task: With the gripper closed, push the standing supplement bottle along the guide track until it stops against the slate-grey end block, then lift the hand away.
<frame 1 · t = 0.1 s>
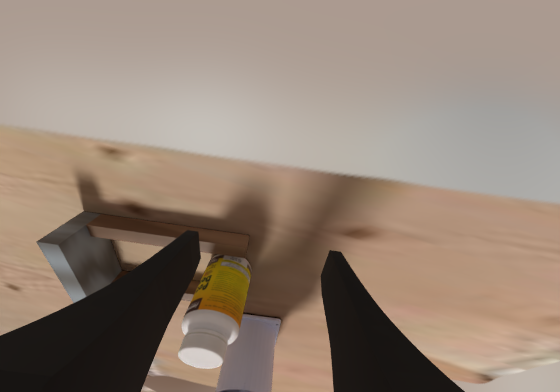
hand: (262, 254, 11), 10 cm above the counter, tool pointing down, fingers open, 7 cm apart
guide track: (180, 258, 27), on the counter
supplement bottle: (231, 264, 27), on the counter
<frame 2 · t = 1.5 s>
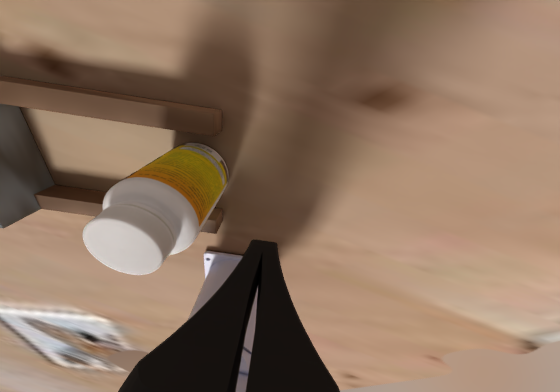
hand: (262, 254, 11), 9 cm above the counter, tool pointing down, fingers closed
guide track: (130, 160, 19), on the counter
supplement bottle: (201, 169, 19), on the counter
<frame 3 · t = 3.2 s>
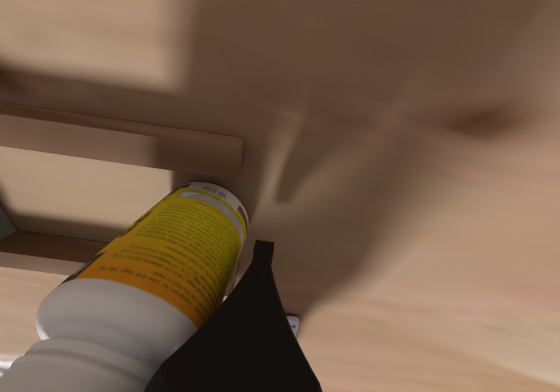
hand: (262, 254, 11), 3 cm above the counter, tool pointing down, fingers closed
guide track: (114, 202, 14), on the counter
supplement bottle: (211, 213, 14), on the counter, touching gripper
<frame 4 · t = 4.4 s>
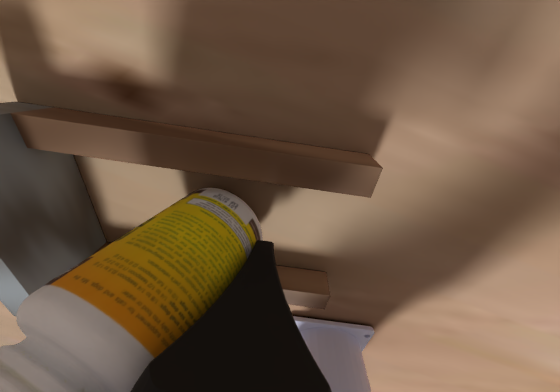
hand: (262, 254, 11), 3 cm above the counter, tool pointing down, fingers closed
guide track: (216, 215, 14), on the counter
supplement bottle: (227, 221, 13), point 1 cm above the counter, touching gripper
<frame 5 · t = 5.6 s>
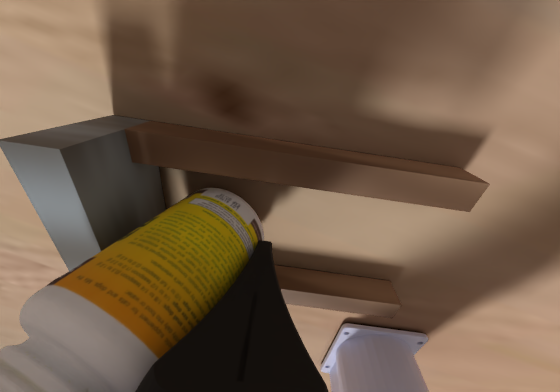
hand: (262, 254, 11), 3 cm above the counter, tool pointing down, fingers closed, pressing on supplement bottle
guide track: (291, 225, 14), on the counter
supplement bottle: (229, 221, 13), point 1 cm above the counter, touching gripper
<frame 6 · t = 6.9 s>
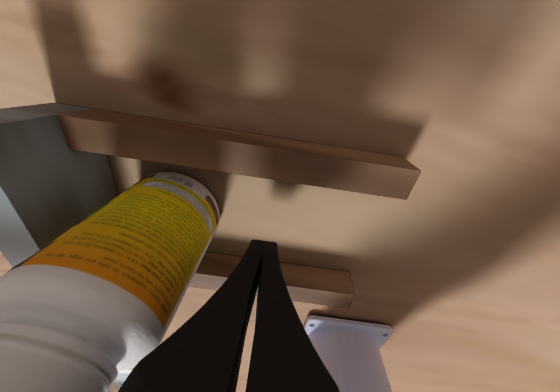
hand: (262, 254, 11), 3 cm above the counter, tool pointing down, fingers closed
guide track: (244, 215, 14), on the counter
supplement bottle: (182, 204, 14), on the counter
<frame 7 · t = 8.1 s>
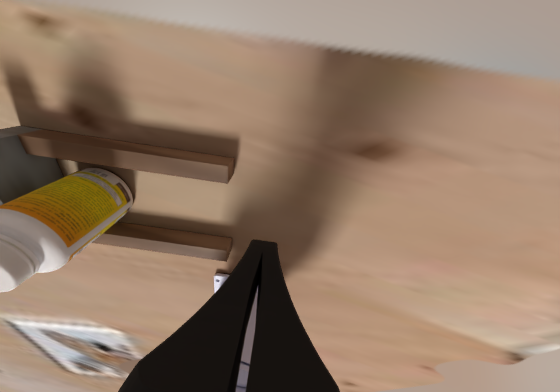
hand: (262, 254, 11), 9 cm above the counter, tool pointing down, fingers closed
guide track: (150, 197, 21), on the counter
supplement bottle: (109, 189, 21), on the counter
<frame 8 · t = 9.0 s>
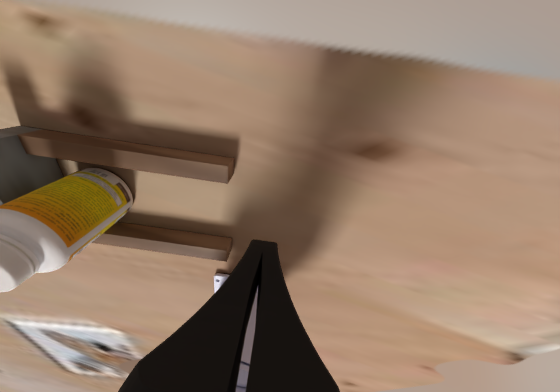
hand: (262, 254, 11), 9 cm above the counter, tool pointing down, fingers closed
guide track: (150, 197, 21), on the counter
supplement bottle: (109, 189, 21), on the counter
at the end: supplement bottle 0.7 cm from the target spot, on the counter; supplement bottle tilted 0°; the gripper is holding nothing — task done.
